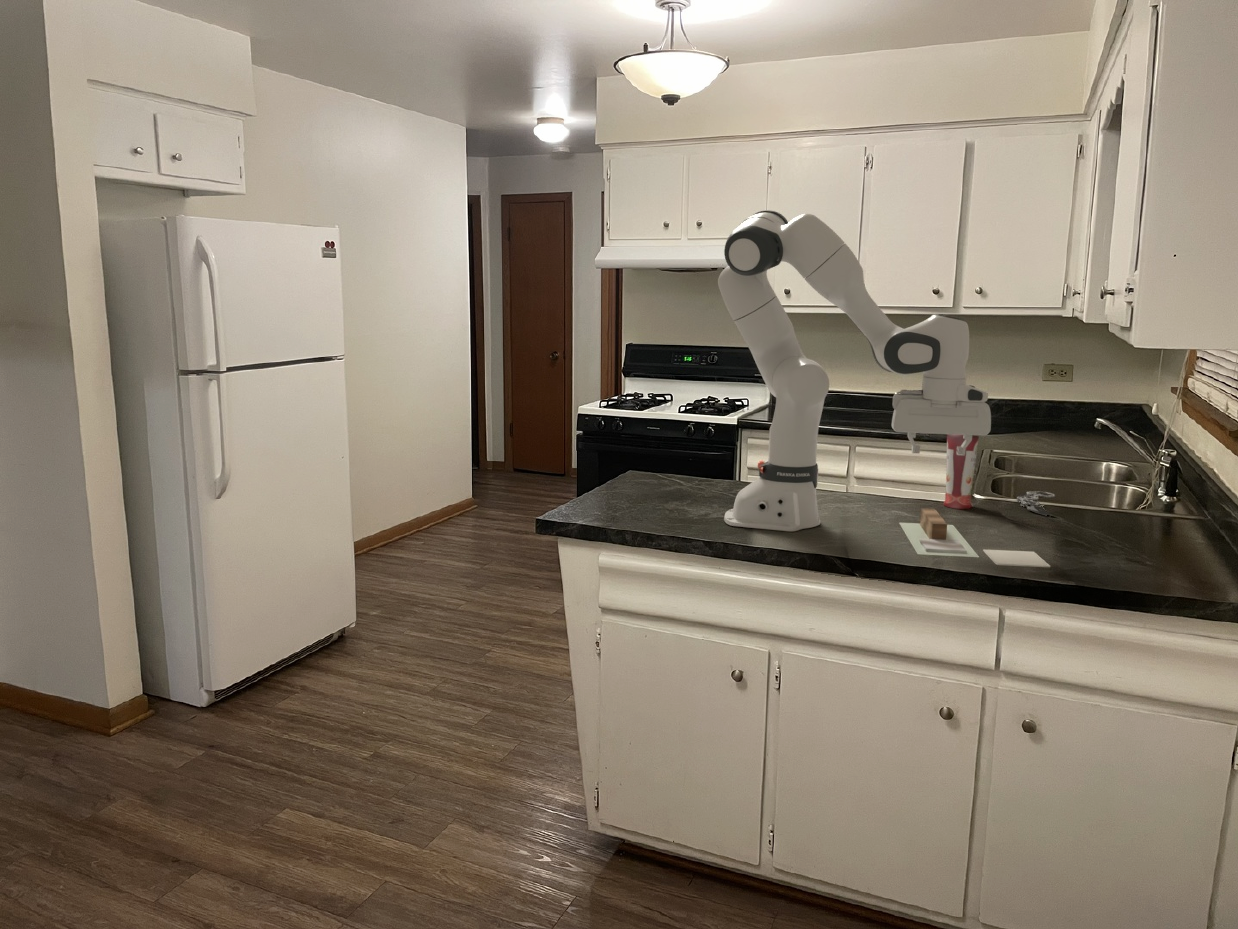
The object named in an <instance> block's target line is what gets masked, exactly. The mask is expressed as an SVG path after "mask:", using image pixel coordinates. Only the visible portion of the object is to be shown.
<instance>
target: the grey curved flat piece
mask: <svg viewBox="0 0 1238 929" xmlns="http://www.w3.org/2000/svg"><path fill="white" fill-rule="evenodd" d="M1055 497H1056V495H1055V494H1054V493H1051V492H1049V491H1048V492H1047V491H1042V490H1040V491H1032V490H1031V491H1026V493H1021V494H1019V495H1018V496H1017V497H1016V501H1017V502H1018V501H1020V502H1021V503H1020V502H1019V503H1020V506H1021V507H1022V506H1023V507H1022V508H1026V509H1027V510H1028V511H1031V512H1034V513H1036V514H1040V515H1043V516H1047V515H1052V514H1051V513H1049V512H1048V513H1049V514H1048V513H1046V512H1045V511H1046V510H1045V505H1044V504H1043V505H1040V504H1041V503H1040V502H1039V499H1046V498H1047V499H1051V498H1055ZM1039 505H1040V506H1039ZM1041 506H1042V507H1041ZM1043 506H1044V507H1043ZM1039 509H1044V510H1045V511H1043V510H1042V511H1040V510H1039Z"/></svg>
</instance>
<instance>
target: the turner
mask: <svg viewBox="0 0 1238 929" xmlns="http://www.w3.org/2000/svg"><path fill="white" fill-rule="evenodd" d="M920 510H921V511H920V521H919V523H920V526H921V527H922V529H923V530H924V532H925V533H926V535H927V536H928V538H929V539H922V538H919V542H920V543H921V545H922V546H923V548H924V549H925V551H926V552H947V553H966V549H965V548H964V547H963V546H962V544H961V543H960V542H959V540H946V534H947V525H948V523H947V522H946V521H945V519H944V518H943V517H942V516H941V515H940V514H939V512H938V511H937V510H936V508H924V507H921V509H920Z"/></svg>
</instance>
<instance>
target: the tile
mask: <svg viewBox="0 0 1238 929" xmlns="http://www.w3.org/2000/svg"><path fill="white" fill-rule="evenodd" d="M982 551H983V552H984V553H985V554H986V556H988V557H989V559H990V560H991V561H992V562H993V563H994V564H995V565H996V566H1007V567H1009V566H1010V567H1012V566H1014V567H1032V568H1033V567H1035V568H1051V565H1050V564H1049V563H1047V562H1046V560H1044V559H1043V558H1042V557H1040V556H1039V555H1038V553H1036V552H1035V551H1031V550H1030V551H1028V550H1027V551H1026V550H1025V551H1024V550H1003V549H983V550H982Z"/></svg>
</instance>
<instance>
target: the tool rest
mask: <svg viewBox="0 0 1238 929" xmlns="http://www.w3.org/2000/svg"><path fill="white" fill-rule="evenodd" d="M898 524H899V525H900V527H901V528H902V530H903V532H904V533H905V535H906V538H907V539H908V541H909V542H910V544H911V546H912V547H913V549H914V550H915V552H916V554H917V555H920V556H921V555H926V556H941V557H942V556H943V557H945V556H946V557H966V558H980V556H979V555H978V554H977V552H976V551H975V550H974V549H973V547H972V546H971V545H970V544H969V543H968V541H967V540H966V539H965V538H964V537H963V535H962V534H961V533H960V532H959V531H958V529H957V528H956V527H955V526H954V525H953V524H947V534H946V540H959V542H960V543H961V544H962V546H963V547H964V548H965V549H966V553H947V552H926V551H925V549H924V548H923V546H922V545H921V543H920V542H919V538H922V539H929V538H928V536H927V535H926V533H925V532H924V530H923V529H922V527H921V526H920V522H919V523H917V522H916V523H914V522H899V523H898Z"/></svg>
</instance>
